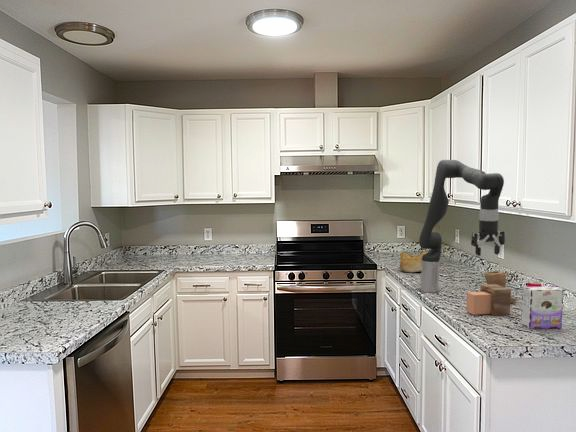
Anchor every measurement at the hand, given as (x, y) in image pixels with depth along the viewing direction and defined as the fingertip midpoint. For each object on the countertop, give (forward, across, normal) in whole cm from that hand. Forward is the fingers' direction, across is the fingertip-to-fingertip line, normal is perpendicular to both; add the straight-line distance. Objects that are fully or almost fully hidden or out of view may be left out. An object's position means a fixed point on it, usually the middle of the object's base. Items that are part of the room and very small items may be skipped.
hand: (487, 254), depth 175 cm
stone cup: (+32, -22, -23) cm, 44 cm away
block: (+28, -2, -3) cm, 29 cm away
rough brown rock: (+36, -8, -95) cm, 102 cm away
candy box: (+28, -15, +16) cm, 35 cm away
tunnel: (+29, -7, -3) cm, 30 cm away
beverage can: (+31, -32, -11) cm, 46 cm away
